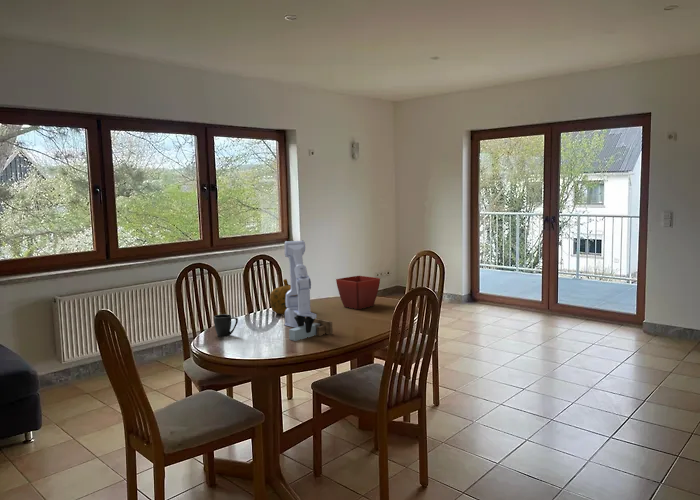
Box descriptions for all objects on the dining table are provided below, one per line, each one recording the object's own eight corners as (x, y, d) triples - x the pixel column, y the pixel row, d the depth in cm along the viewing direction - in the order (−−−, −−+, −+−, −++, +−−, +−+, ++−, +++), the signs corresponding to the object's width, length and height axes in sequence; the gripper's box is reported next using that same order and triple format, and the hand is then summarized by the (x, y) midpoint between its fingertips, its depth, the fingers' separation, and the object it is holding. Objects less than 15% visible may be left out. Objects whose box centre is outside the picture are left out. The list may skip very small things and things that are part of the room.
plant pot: (359, 302, 333) (358, 275, 332) (381, 306, 319) (381, 278, 318) (335, 307, 320) (335, 279, 319) (358, 311, 306) (357, 282, 305)
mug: (233, 338, 256) (232, 318, 255) (211, 337, 260) (210, 317, 259) (242, 333, 264) (241, 314, 263) (220, 332, 268) (219, 313, 267)
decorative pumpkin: (311, 313, 301) (306, 278, 299) (273, 319, 296) (268, 283, 294) (305, 307, 320) (301, 274, 319) (270, 313, 315) (265, 279, 314)
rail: (295, 341, 249) (294, 330, 248) (289, 339, 251) (288, 329, 251) (320, 334, 260) (319, 323, 260) (314, 332, 263) (314, 322, 262)
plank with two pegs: (303, 332, 264) (302, 320, 264) (312, 329, 269) (312, 317, 268) (323, 336, 255) (322, 324, 254) (332, 334, 259) (332, 321, 259)
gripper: (287, 302, 256) (288, 330, 258) (308, 306, 246) (309, 335, 248) (298, 300, 261) (299, 327, 263) (319, 304, 251) (320, 332, 253)
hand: (305, 331), depth 256 cm, fingers open, 4 cm apart
